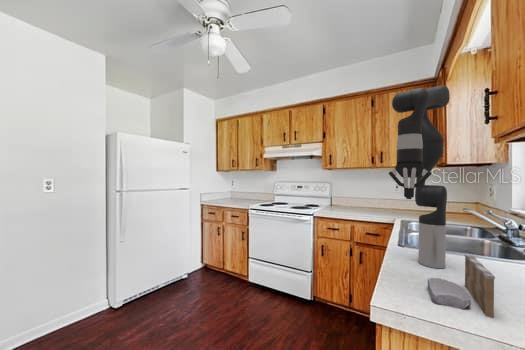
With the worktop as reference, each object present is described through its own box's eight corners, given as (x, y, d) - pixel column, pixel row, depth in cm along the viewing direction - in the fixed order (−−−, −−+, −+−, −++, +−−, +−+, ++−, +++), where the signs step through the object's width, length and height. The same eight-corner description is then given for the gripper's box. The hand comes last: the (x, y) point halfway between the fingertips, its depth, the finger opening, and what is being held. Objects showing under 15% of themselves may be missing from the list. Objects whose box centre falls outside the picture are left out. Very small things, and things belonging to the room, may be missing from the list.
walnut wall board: (464, 285, 80) (464, 253, 80) (471, 286, 79) (471, 254, 79) (485, 315, 63) (485, 275, 63) (494, 317, 62) (494, 276, 62)
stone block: (460, 299, 75) (423, 286, 79) (465, 285, 74) (427, 272, 79) (473, 320, 64) (429, 304, 69) (478, 304, 64) (434, 288, 68)
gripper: (431, 148, 81) (430, 199, 81) (387, 150, 88) (387, 197, 88) (434, 146, 75) (434, 201, 75) (387, 148, 81) (386, 198, 81)
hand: (408, 198), depth 81 cm, fingers closed
